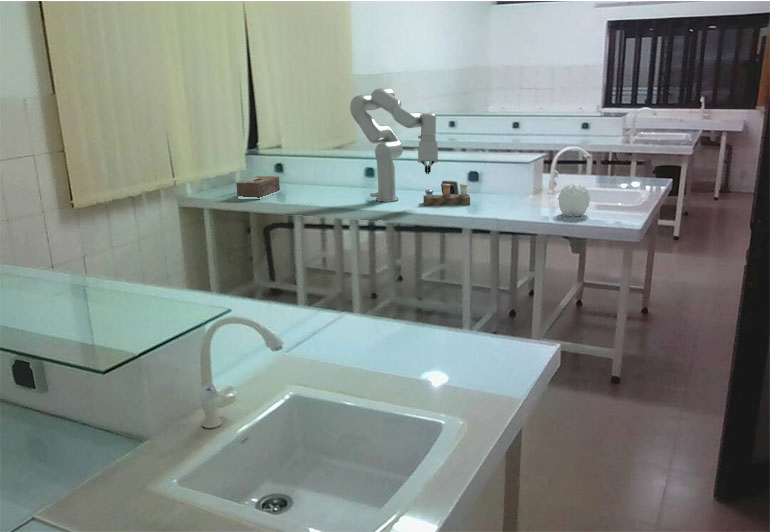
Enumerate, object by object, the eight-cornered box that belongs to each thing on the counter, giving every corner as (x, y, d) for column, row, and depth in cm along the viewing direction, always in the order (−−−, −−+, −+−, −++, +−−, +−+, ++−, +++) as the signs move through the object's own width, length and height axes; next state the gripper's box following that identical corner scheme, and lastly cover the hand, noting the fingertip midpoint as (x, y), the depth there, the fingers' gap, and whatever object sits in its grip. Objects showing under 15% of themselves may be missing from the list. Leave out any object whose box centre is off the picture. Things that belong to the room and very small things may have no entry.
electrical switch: (459, 196, 363) (458, 180, 360) (455, 199, 359) (454, 182, 356) (444, 195, 368) (443, 179, 365) (440, 198, 364) (439, 181, 361)
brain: (556, 229, 311) (556, 204, 298) (560, 202, 321) (559, 176, 308) (588, 230, 306) (588, 204, 293) (590, 202, 317) (591, 176, 303)
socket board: (423, 206, 340) (423, 198, 339) (423, 202, 350) (423, 195, 349) (470, 204, 339) (470, 197, 338) (468, 201, 349) (468, 194, 348)
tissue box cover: (258, 192, 403) (257, 176, 400) (280, 193, 398) (278, 176, 396) (237, 199, 379) (236, 182, 376) (260, 200, 375) (258, 183, 372)
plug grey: (425, 204, 343) (425, 191, 341) (425, 202, 347) (425, 189, 345) (433, 204, 343) (433, 190, 341) (433, 202, 347) (433, 189, 345)
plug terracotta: (442, 198, 342) (442, 185, 340) (442, 197, 346) (442, 183, 344) (450, 198, 342) (450, 185, 340) (450, 196, 346) (450, 183, 344)
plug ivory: (459, 198, 341) (459, 184, 339) (459, 196, 345) (459, 183, 343) (467, 197, 341) (467, 184, 339) (467, 196, 345) (467, 183, 343)
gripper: (413, 138, 332) (413, 174, 338) (443, 139, 332) (442, 175, 337) (413, 137, 340) (413, 172, 345) (442, 137, 339) (441, 172, 344)
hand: (427, 173), depth 341 cm, fingers closed
